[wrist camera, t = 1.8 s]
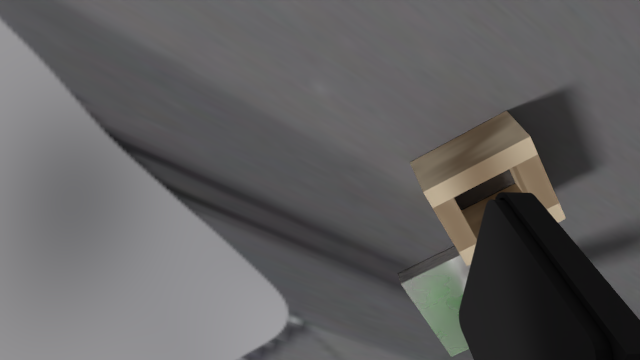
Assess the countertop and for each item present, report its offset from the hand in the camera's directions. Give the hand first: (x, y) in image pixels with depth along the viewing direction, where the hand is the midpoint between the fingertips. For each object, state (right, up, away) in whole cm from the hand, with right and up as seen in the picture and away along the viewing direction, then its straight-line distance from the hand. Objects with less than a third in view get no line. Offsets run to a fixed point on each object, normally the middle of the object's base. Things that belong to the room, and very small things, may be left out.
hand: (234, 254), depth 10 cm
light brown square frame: (+13, +2, +30) cm, 33 cm away
